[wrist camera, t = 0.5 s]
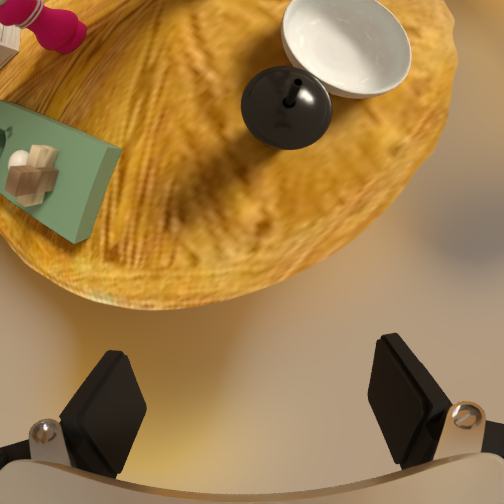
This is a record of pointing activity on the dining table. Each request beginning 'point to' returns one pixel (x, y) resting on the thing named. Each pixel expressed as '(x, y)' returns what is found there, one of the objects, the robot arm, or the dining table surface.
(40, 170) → the stacked wooden blocks
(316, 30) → the cereal bowl
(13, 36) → the supplement box
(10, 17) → the pepper mill
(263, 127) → the drinking cup
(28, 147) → the putting mat
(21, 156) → the ball
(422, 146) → the dining table surface
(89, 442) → the robot arm
